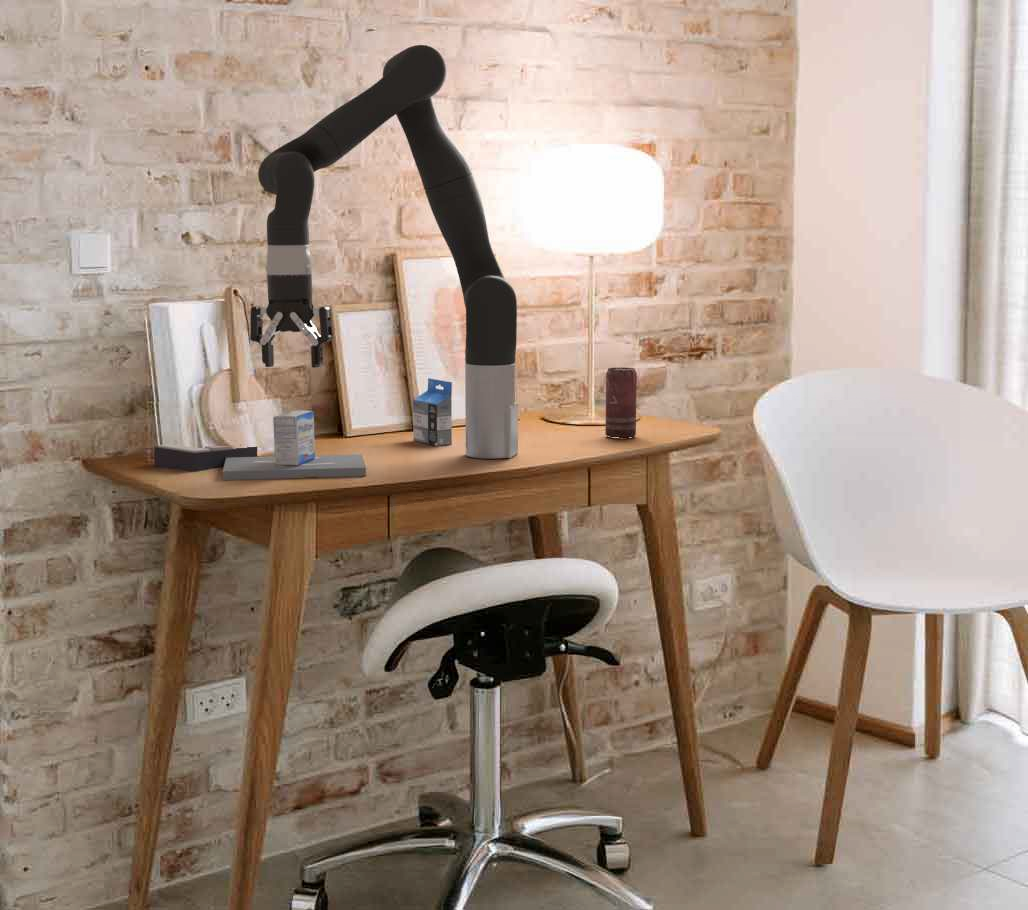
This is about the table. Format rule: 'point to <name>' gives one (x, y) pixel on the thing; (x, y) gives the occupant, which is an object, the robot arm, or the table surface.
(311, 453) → the medicine box
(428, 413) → the label tape cartridge
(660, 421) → the table surface
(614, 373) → the can
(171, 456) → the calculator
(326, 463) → the slate board
